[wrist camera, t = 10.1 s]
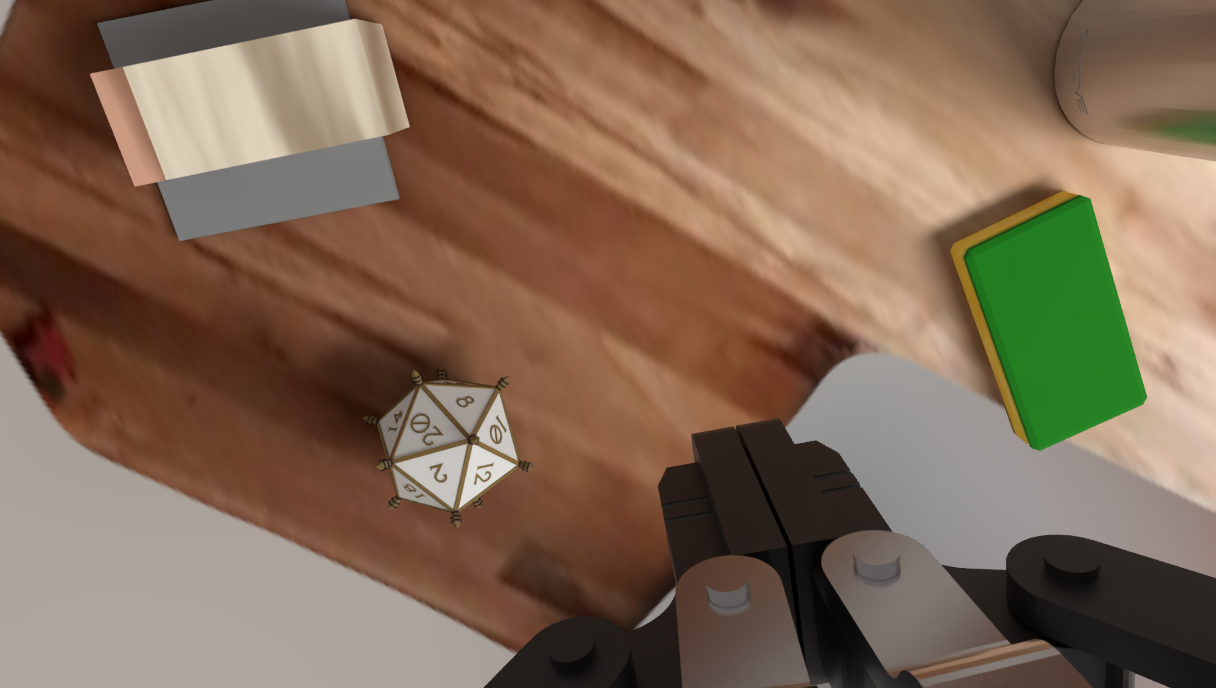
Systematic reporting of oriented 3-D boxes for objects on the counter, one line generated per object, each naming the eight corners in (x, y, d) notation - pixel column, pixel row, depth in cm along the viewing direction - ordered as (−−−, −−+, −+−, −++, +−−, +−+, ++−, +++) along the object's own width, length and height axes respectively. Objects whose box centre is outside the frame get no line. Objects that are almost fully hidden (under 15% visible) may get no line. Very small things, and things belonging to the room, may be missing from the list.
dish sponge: (1063, 186, 44) (1090, 193, 42) (1122, 387, 48) (1150, 402, 46) (944, 244, 45) (965, 253, 42) (1013, 436, 49) (1035, 454, 47)
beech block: (355, 18, 34) (89, 73, 34) (388, 135, 36) (134, 186, 36) (381, 24, 39) (148, 72, 39) (409, 126, 40) (185, 172, 41)
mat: (339, -23, 38) (336, -24, 38) (399, 197, 42) (397, 199, 41) (102, 23, 38) (96, 23, 38) (183, 238, 42) (179, 240, 42)
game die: (435, 393, 50) (298, 428, 42) (515, 322, 45) (379, 346, 37) (501, 516, 48) (372, 579, 40) (591, 456, 44) (466, 512, 35)
